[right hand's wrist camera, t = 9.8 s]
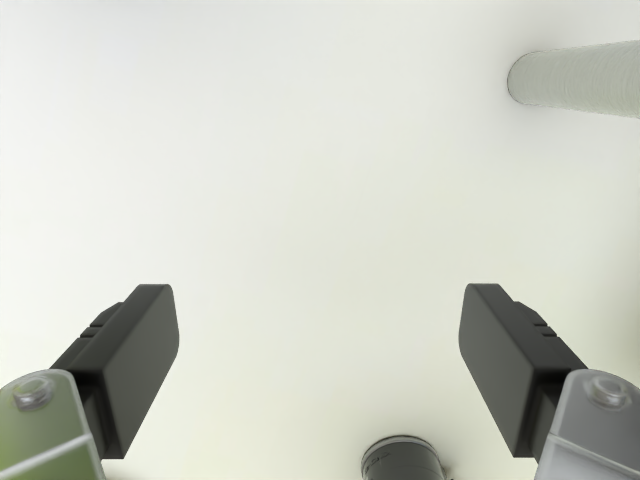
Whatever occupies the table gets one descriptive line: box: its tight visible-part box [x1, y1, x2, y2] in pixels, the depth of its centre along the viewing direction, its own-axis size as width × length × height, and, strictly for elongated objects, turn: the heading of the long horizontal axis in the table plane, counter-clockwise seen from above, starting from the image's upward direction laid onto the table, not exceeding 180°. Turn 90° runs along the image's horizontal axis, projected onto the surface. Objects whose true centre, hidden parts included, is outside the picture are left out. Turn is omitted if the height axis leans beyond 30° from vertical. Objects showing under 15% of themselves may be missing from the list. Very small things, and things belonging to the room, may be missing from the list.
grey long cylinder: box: [508, 40, 640, 118], centre depth 26 cm, size 4×4×18 cm
